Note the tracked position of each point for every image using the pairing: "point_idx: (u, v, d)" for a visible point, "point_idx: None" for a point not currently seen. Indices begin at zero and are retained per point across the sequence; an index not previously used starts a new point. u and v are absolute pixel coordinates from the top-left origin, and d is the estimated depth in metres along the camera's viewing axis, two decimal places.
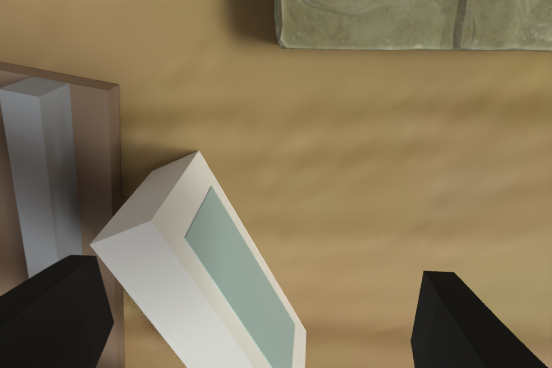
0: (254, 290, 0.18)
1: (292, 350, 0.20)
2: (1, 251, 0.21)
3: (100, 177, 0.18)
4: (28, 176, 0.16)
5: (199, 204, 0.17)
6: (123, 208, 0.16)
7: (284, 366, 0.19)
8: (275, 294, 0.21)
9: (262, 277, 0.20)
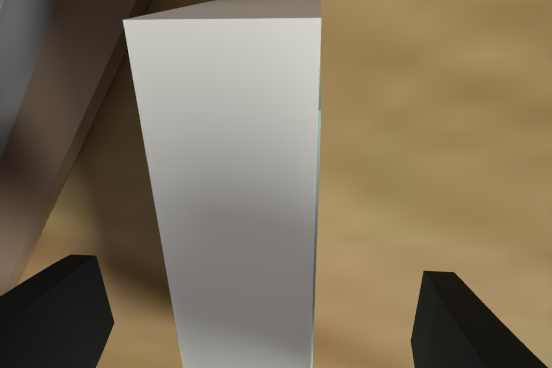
0: None
1: None
2: None
3: None
4: None
5: None
6: (189, 8, 0.07)
7: None
8: None
9: None
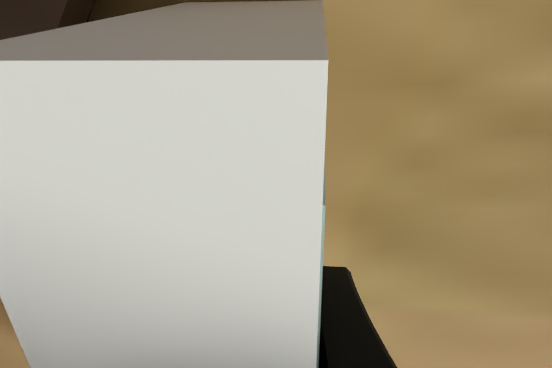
0: None
1: None
2: None
3: None
4: None
5: None
6: (107, 22, 0.04)
7: None
8: None
9: None
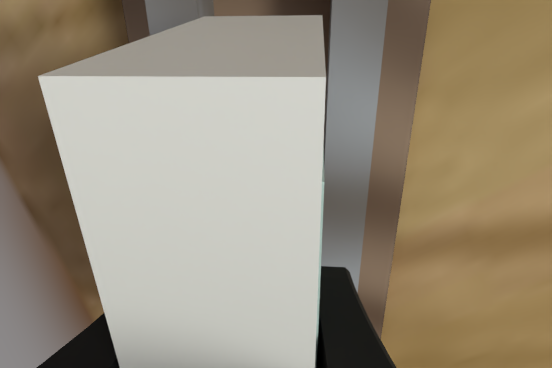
0: None
1: None
2: None
3: None
4: None
5: None
6: (153, 40, 0.06)
7: None
8: None
9: None
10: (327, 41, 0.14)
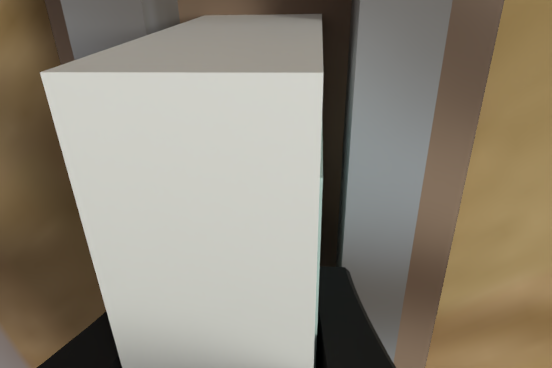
0: None
1: None
2: None
3: None
4: None
5: None
6: (153, 38, 0.06)
7: None
8: None
9: None
10: (345, 66, 0.09)
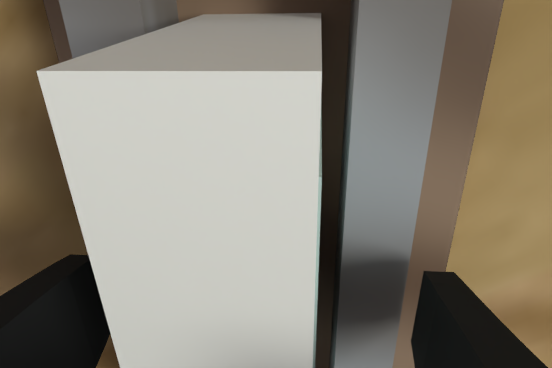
0: None
1: None
2: None
3: None
4: None
5: None
6: (152, 37, 0.06)
7: None
8: None
9: None
10: (345, 65, 0.09)
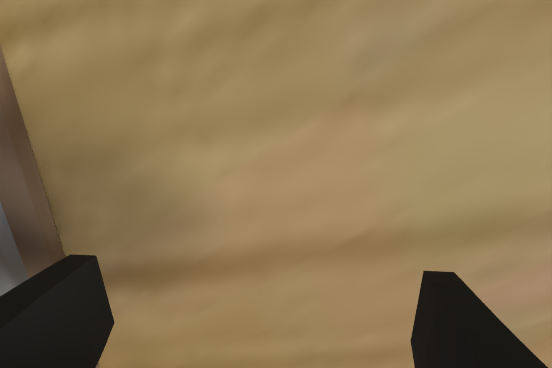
0: None
1: None
2: None
3: None
4: None
5: None
6: None
7: None
8: None
9: None
10: None
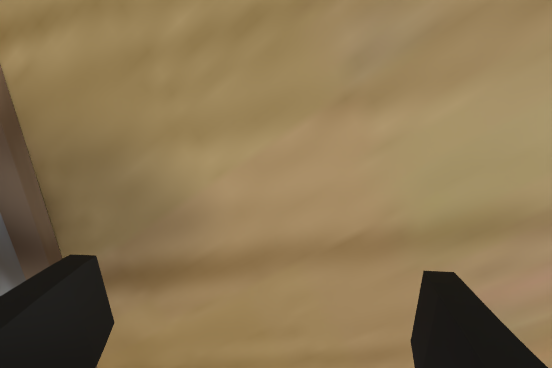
0: None
1: None
2: None
3: None
4: None
5: None
6: None
7: None
8: None
9: None
10: None
